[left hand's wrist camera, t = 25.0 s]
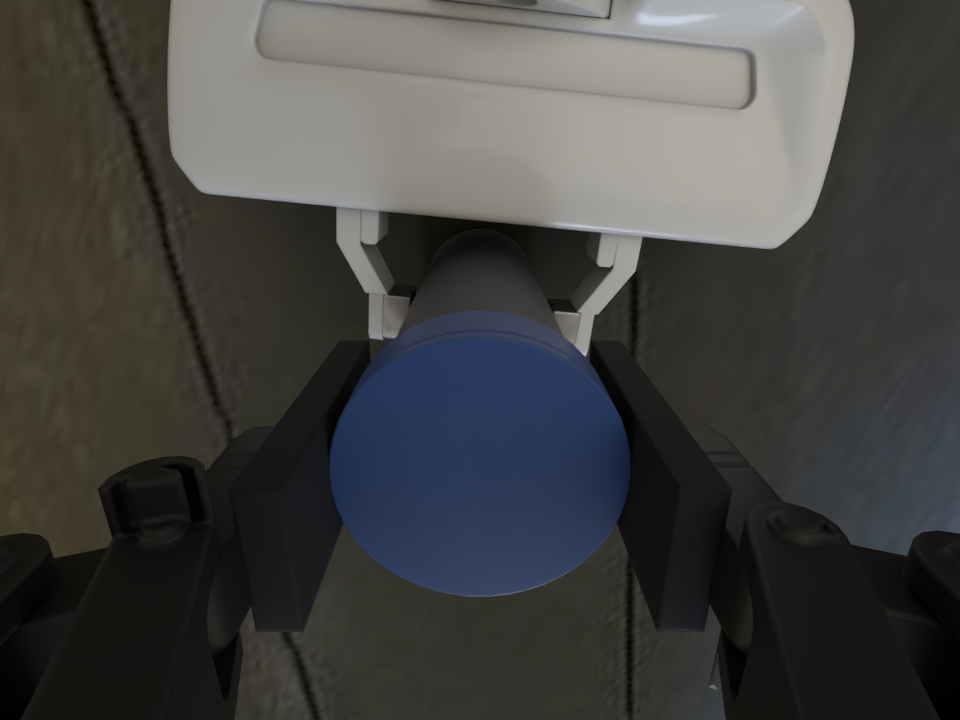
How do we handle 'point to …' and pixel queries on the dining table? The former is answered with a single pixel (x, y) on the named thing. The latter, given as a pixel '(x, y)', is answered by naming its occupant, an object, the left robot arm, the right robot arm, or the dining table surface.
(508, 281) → the jar
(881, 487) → the dining table surface
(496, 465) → the lid
